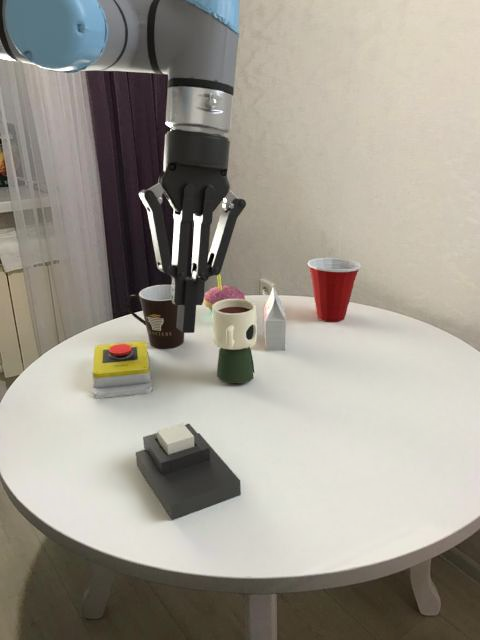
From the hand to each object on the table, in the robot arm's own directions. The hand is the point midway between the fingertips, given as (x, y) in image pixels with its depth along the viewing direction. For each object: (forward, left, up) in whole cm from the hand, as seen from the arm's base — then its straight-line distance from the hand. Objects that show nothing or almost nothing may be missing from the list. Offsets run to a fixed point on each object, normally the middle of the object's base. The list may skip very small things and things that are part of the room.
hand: (185, 329), depth 74 cm
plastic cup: (-28, +44, -17) cm, 55 cm away
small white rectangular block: (+4, -4, -14) cm, 15 cm away
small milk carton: (-23, +27, -17) cm, 40 cm away
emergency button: (-25, -2, -17) cm, 31 cm away
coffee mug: (-35, +9, -17) cm, 40 cm away
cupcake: (-38, +24, -17) cm, 48 cm away
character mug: (-14, +14, -17) cm, 26 cm away
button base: (+7, -4, -17) cm, 19 cm away
